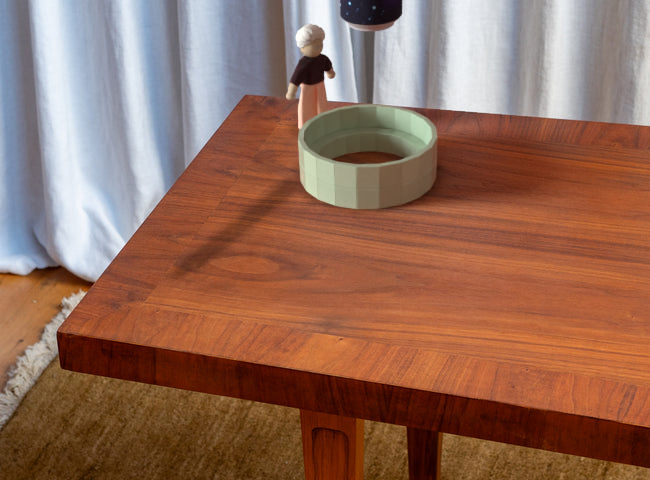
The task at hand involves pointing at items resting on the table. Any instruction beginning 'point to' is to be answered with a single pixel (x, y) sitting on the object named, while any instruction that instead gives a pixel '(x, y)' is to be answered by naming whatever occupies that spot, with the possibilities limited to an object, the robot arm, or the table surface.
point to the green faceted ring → (368, 135)
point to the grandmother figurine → (310, 74)
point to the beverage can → (370, 13)
